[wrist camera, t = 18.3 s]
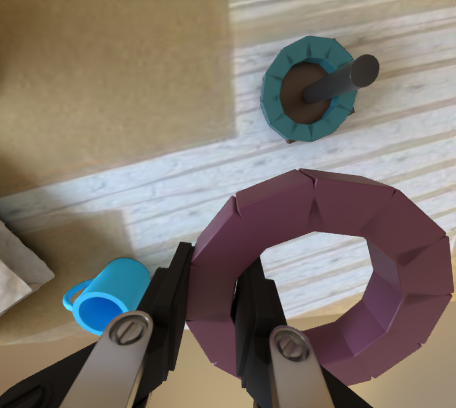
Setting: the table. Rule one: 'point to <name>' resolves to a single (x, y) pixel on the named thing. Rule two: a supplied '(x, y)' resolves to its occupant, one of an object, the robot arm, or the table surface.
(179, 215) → the table surface
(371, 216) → the plum ring
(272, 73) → the teal ring
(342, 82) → the peg stand
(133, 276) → the mug
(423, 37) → the table surface
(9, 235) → the plastic wrap
